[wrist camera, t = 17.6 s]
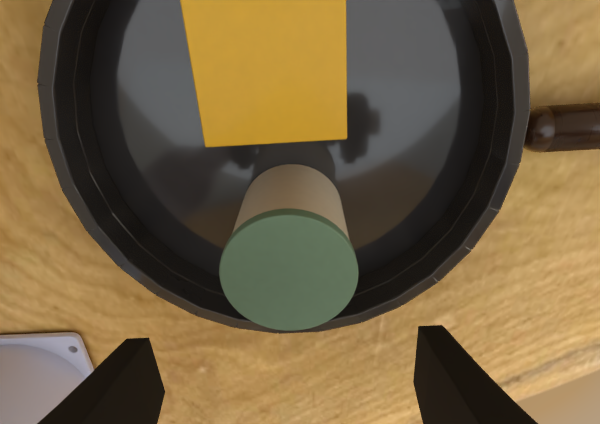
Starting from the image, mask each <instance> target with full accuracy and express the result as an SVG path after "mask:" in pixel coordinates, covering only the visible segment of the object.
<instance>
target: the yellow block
mask: <svg viewBox="0 0 600 424" xmlns="http://www.w3.org/2000/svg"><path fill="white" fill-rule="evenodd" d="M180 3H181V9H182V14H183V20H184V26H185V32H186V38H187V44H188V50H189V56H190V61H191V67H192V73H193V79H194V85H195V91H196V97H197V103H198V108H199V114H200V120H201V126H202V132H203V138H204V144H205V147H221V146H239V145H256V144H273V143H291V142H308V141H325V140H342V139H347V50H346V0H180Z"/></svg>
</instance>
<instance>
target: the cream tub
mask: <svg viewBox="0 0 600 424" xmlns="http://www.w3.org/2000/svg"><path fill="white" fill-rule="evenodd" d="M219 275H220V282H221V286H222V289H223V291H224V293H225V296H226V297H227V299H228V300H229V302H230V303H231V304H232V306H233V307H234V308H235V309H236V310H237V311H238V312H239V313H240V314H242V315H243V316H244V317H246V318H247V319H249V320H251V321H252V322H254V323H257V324H259V325H261V326H264V327H267V328H272V329H276V330H285V331H294V330H303V329H308V328H312V327H315V326H318V325H321V324H323V323H325V322H327V321H329V320H330V319H332V318H334V317H335V316H336V315H338V314H339V313H340V312H341V311H342V310H343V309H344V308H345V307H346V305H347V304H348V303H349V301H350V300H351V298H352V296H353V294H354V292H355V290H356V286H357V282H358V264H357V260H356V255H355V251H354V249H353V246H352V244H351V242H350V240H349V236H348V231H347V227H346V222H345V218H344V213H343V209H342V204H341V200H340V196H339V194H338V191H337V189H336V188H335V186H334V185H333V183H332V182H331V181H330V180H329V179H328V178H327V177H326V176H325V175H323V174H322V173H321V172H319V171H317V170H315V169H313V168H311V167H308V166H304V165H298V164H286V165H280V166H276V167H273V168H271V169H268V170H267V171H265V172H263V173H262V174H260V175H259V176H258V177H257V178H256V179H255V180H254V181H253V182H252V183H251V185H250V186H249V188H248V190H247V192H246V194H245V197H244V200H243V203H242V206H241V209H240V212H239V215H238V218H237V221H236V224H235V227H234V230H233V233H232V235H231V236H230V238H229V240H228V241H227V243H226V246H225V248H224V251H223V254H222V256H221V261H220V267H219Z"/></svg>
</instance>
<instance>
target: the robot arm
mask: <svg viewBox="0 0 600 424" xmlns="http://www.w3.org/2000/svg"><path fill="white" fill-rule="evenodd" d="M414 386H415V391H416V395H417V400H418V404H419V408H420V412H421V416H422V420H423V424H538V423H537V422H535V421H534V420H533V419H532V418H531V417H530V416H529V415H528V414H527V413H526V412H525V411H524V410H523V409H522V408H521V407H520V406H518V405H517V404H516V403H515V402H514V401H513V400H512V399H511V398H510V397H509V396H508V395H507V394H506V393H505V392H504V391H503V390H502V389H501V388H500V387H499V386H498V385H497V384H496V383H495V382H494V381H493V380H492V379H491V378H490V377H489V375H488V374H487V373H486V372H485V371H484V370H483V369H482V368H481V367H480V366H479V365H478V364H477V363H476V362H475V361H474V360H473V358H472V357H471V356H470V355H469V354H468V353H467V352H466V351H465V350H464V349H463V347H462V346H461V345H460V344H459V343H458V342H457V341H456V340H455V339H454V337H453V336H452V335H451V334H450V333H449V332H448V331H447V330H446V329H445V328H444V327H443V326H442V325H438V326H419V327H418V338H417V349H416V360H415V371H414ZM164 394H165V390H164V386H163V383H162V380H161V376H160V373H159V370H158V366H157V363H156V360H155V356H154V353H153V350H152V346H151V343H150V340H149V338H134V339H126V340H125V341H124V342H123V343H122V344H121V345H120V346H119V347H117V348H116V349H115V350H114V351H113V352H112V353H111V354H110V355H109V356H108V357H107V358H106V359H105V360H104V361H103V362H102V363H101V364H100V365H99V366H98V367H97V368H96V369H95V370H94V368H93V365H92V363H91V360H90V358H89V355H88V353H87V350H86V348H85V345H84V343H83V340H82V338H81V336H80V335H79V334H77V333H75V332H60V333H37V334H15V335H0V424H157V422H158V418H159V414H160V410H161V406H162V402H163V398H164Z"/></svg>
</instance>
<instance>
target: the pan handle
mask: <svg viewBox="0 0 600 424" xmlns="http://www.w3.org/2000/svg"><path fill="white" fill-rule="evenodd" d="M523 148H525V149H527V150H529V151H532V152H555V151H573V150H590V149H600V103H588V104H571V105H554V106H541V107H536V108H533V109H531V110H530V115H529V121H528V126H527V131H526V136H525V141H524V147H523Z"/></svg>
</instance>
